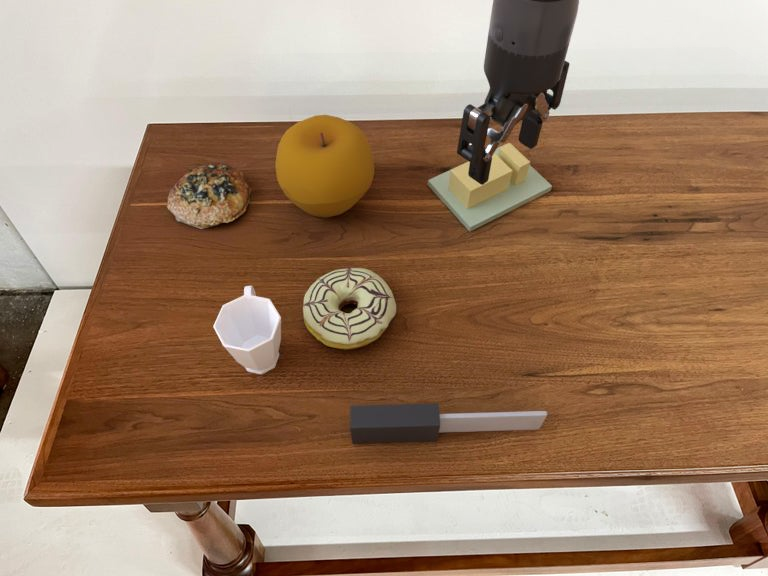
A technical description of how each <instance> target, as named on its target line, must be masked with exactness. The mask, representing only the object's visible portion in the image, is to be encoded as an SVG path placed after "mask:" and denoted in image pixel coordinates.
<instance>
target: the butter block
mask: <svg viewBox="0 0 768 576" xmlns="http://www.w3.org/2000/svg"><path fill="white" fill-rule="evenodd" d="M466 162H467V163H466ZM466 162H464V163H465V164H464V163H462V164H463V165H462V164H460V165H458V166H456V168H455V167H453V168H454V169H453V168H451V169H452V170H451V169H450V170H451V171H450V179H449V187H448V188H449V189H450V191H451V192H452V193H453V194H454V195H455V196H456V197H457V198H458V199H459V200H460V201H461V202H462V204H463V205H464V206H465V207H466V208H467V209H468V208H470V207H472V206H474V205H477V204H479V203H481V202H483V201H485V200H487V199H489V198H491V197H493V196H495V195H497V194H499V193H501V192H503V191H505V190H507V189H509V184H510V180H511V176H512V172H513V170H512V169H511V168H510V167H509V166H508V165H507V164H505V163H504V162H503V161H502V160H501V159H500V158H499V157H498V156H497V155H496V154H495V153H494V154H493V156H492V162H491V168H490V173H489V179H488V181H487V182H486V183H485V184H483V185H481V184H479V183H478V182H477V181H475V180H474V179H472V178H471V177H469V175H468V172H469V165H470V162H468V161H466Z"/></svg>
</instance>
